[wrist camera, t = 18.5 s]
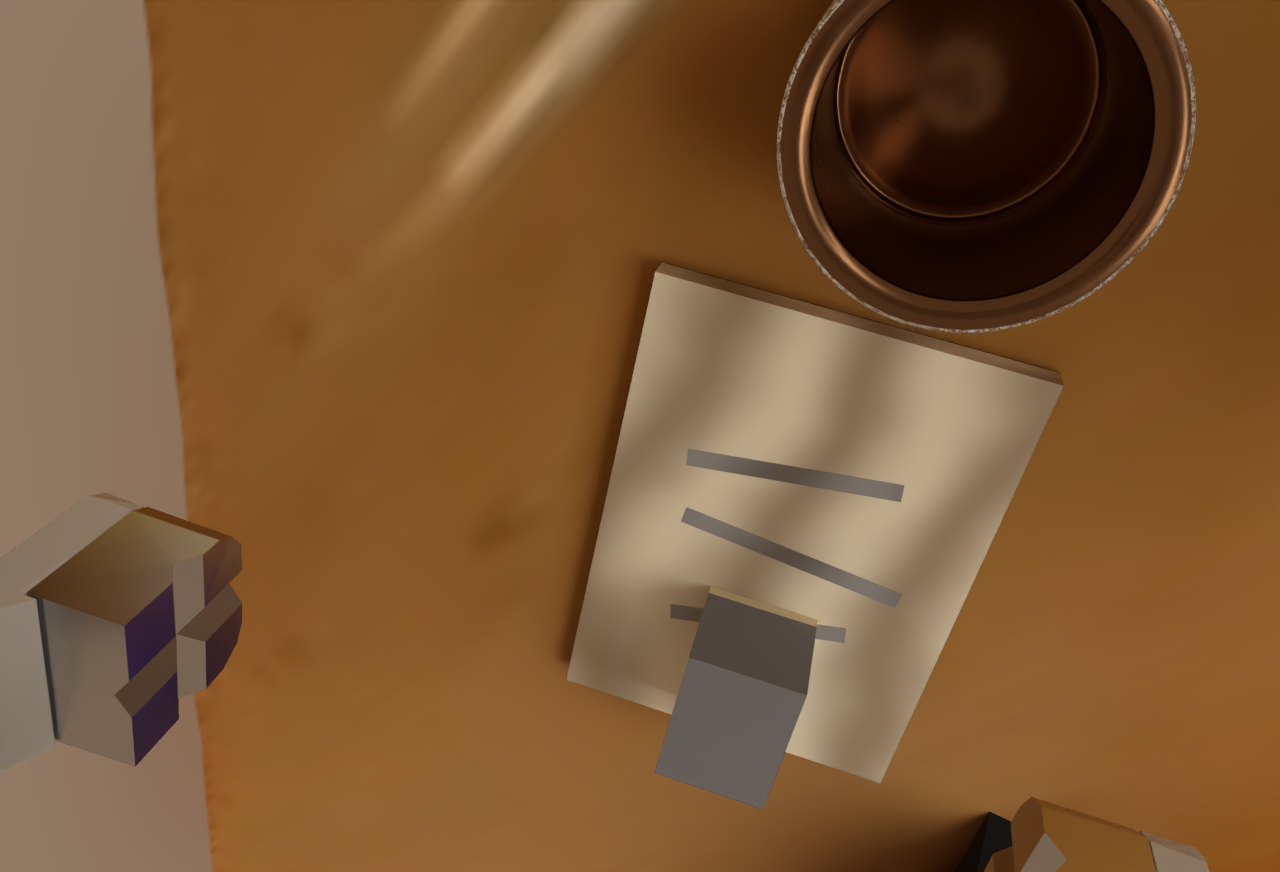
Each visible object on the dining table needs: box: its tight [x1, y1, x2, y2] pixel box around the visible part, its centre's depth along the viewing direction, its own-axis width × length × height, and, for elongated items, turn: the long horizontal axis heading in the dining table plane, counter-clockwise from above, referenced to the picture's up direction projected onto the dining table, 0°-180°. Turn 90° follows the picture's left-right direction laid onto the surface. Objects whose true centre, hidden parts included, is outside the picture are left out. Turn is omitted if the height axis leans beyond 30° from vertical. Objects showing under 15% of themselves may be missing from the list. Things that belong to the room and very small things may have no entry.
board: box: [566, 262, 1064, 783], centre depth 45 cm, size 16×22×1 cm
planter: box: [776, 0, 1196, 333], centre depth 31 cm, size 11×11×10 cm
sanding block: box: [654, 586, 818, 809], centre depth 45 cm, size 5×7×5 cm
